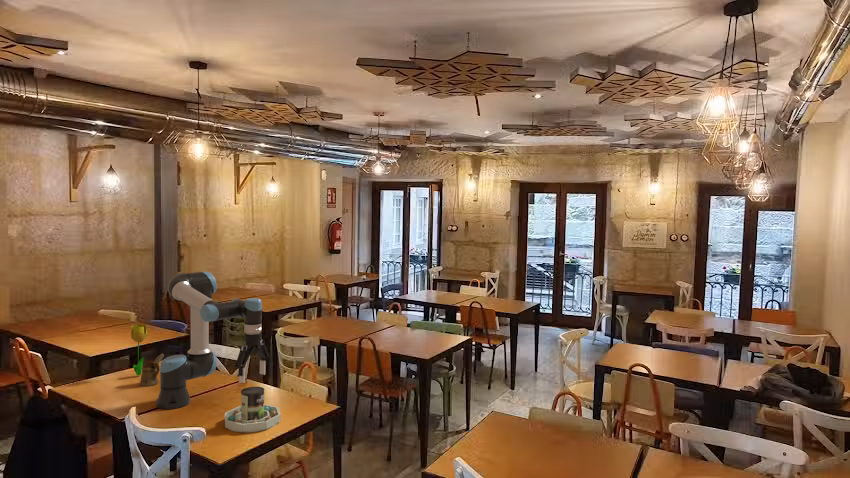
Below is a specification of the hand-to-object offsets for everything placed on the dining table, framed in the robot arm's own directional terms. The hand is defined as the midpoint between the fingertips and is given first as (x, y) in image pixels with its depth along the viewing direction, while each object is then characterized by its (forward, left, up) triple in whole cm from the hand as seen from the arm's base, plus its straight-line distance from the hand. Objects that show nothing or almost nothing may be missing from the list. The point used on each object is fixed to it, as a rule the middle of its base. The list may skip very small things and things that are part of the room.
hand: (252, 378), depth 251 cm
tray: (0, 0, -20) cm, 20 cm away
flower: (-102, +22, -21) cm, 106 cm away
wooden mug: (-84, +16, -21) cm, 88 cm away
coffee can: (0, 0, -20) cm, 20 cm away
